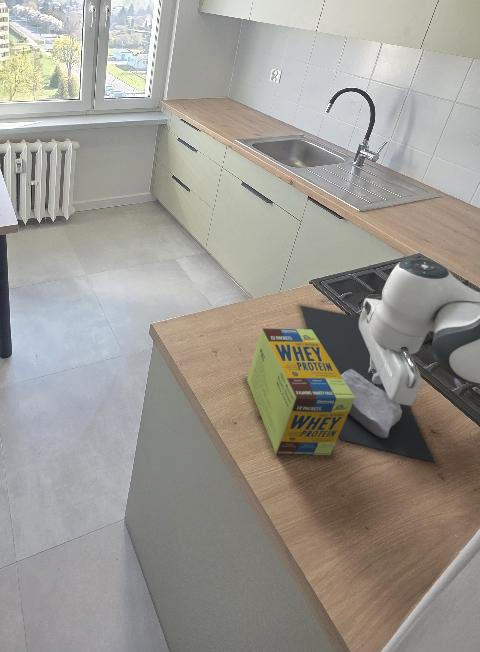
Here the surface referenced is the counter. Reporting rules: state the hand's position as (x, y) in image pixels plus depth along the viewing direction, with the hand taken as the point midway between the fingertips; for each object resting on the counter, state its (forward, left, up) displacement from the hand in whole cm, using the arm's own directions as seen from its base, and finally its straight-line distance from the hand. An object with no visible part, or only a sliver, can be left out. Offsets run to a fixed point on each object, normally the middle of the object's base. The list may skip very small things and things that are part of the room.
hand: (374, 378), depth 89 cm
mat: (+2, -3, -2) cm, 5 cm away
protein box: (+19, +12, -2) cm, 23 cm away
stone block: (+3, +6, -2) cm, 7 cm away
